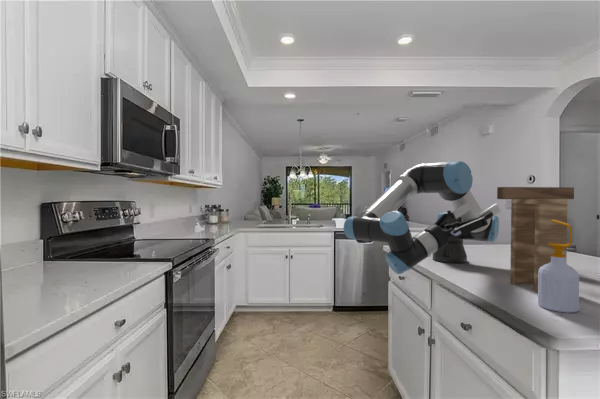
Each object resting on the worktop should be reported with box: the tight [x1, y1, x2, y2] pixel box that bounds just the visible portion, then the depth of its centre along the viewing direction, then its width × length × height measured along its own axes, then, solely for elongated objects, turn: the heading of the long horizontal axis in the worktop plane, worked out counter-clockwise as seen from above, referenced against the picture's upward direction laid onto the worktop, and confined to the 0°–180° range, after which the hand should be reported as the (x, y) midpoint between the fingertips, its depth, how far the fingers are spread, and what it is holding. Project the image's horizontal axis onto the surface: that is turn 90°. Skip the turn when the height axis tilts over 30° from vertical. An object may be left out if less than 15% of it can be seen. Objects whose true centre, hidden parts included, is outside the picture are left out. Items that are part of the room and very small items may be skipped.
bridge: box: [509, 199, 568, 293], centre depth 116 cm, size 12×10×30 cm
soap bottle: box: [537, 219, 580, 314], centre depth 95 cm, size 9×9×25 cm
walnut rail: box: [496, 186, 575, 200], centre depth 115 cm, size 4×26×4 cm, turn 100°
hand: (482, 206), depth 112 cm, fingers open, 13 cm apart
